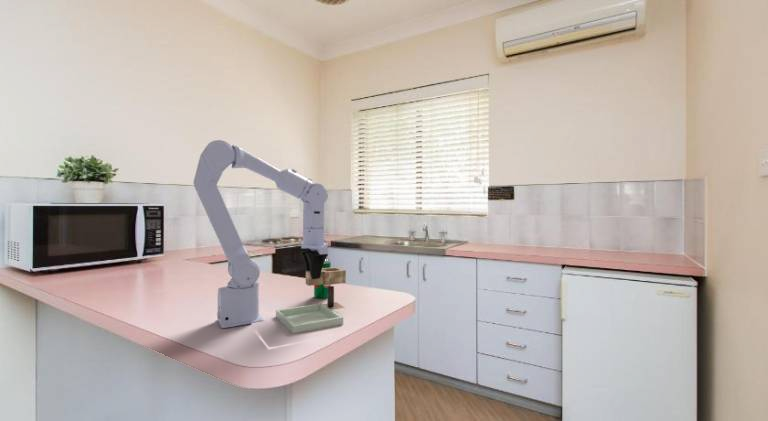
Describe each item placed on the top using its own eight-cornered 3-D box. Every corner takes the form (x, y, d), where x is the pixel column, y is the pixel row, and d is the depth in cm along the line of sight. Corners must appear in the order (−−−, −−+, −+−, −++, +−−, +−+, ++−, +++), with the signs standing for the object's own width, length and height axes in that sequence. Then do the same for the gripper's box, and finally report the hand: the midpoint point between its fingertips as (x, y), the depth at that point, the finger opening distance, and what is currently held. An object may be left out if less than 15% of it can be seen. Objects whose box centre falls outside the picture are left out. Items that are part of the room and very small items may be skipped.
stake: (324, 312, 96) (324, 290, 96) (316, 306, 101) (316, 285, 101) (345, 308, 100) (345, 287, 99) (336, 303, 105) (336, 283, 105)
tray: (293, 335, 79) (293, 326, 79) (275, 318, 91) (275, 310, 91) (343, 325, 86) (343, 317, 86) (321, 310, 98) (321, 303, 98)
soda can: (327, 300, 108) (327, 260, 108) (311, 299, 109) (311, 260, 109) (332, 296, 113) (332, 258, 113) (317, 295, 114) (317, 257, 114)
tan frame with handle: (311, 287, 94) (311, 273, 94) (303, 282, 99) (303, 270, 99) (345, 282, 100) (345, 270, 99) (336, 279, 105) (336, 267, 105)
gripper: (338, 229, 93) (338, 280, 94) (317, 225, 106) (317, 271, 106) (312, 229, 90) (312, 283, 90) (294, 226, 102) (294, 274, 102)
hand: (313, 277), depth 98 cm, fingers closed on tan frame with handle, 2 cm apart
